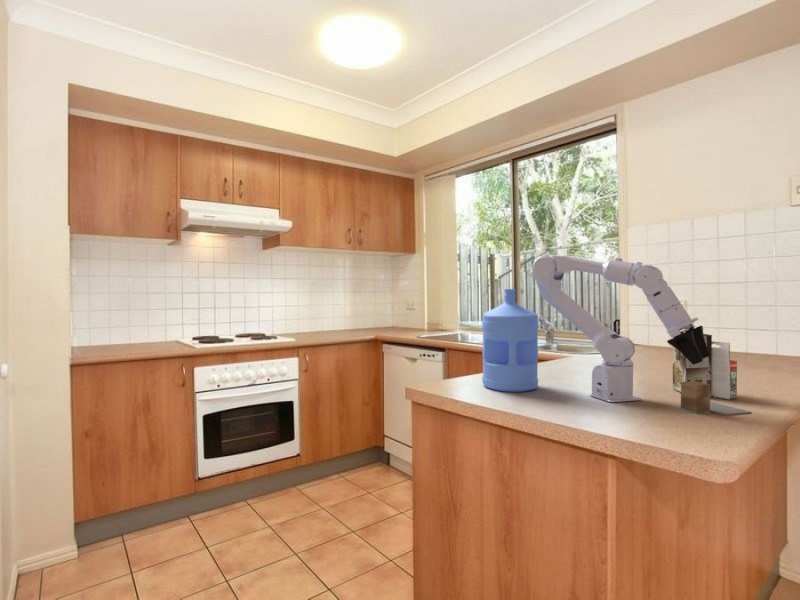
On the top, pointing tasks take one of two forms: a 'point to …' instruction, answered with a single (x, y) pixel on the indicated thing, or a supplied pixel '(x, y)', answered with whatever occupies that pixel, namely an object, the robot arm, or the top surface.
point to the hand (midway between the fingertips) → (702, 360)
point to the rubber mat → (726, 409)
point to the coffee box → (691, 367)
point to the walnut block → (695, 397)
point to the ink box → (723, 372)
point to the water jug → (510, 347)
